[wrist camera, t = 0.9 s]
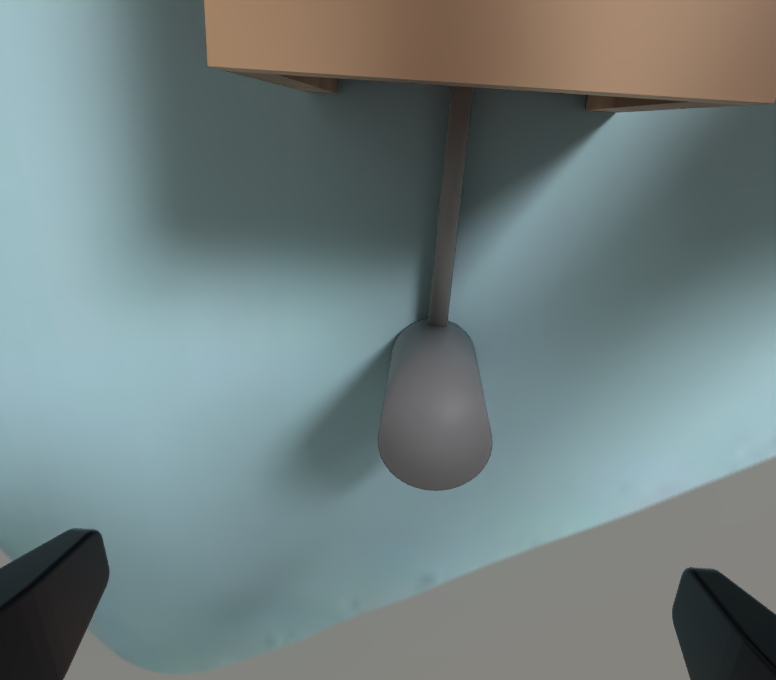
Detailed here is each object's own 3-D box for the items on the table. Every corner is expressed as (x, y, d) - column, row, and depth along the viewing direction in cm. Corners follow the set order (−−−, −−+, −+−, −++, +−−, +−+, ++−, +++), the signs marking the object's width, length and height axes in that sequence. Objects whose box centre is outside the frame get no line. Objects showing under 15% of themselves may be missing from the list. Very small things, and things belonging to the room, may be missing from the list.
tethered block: (608, -223, 14) (723, -444, 9) (505, 401, 21) (533, 500, 16) (381, -232, 14) (351, -453, 9) (353, 387, 21) (327, 480, 16)
